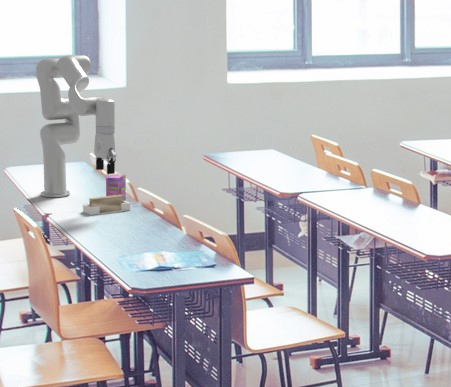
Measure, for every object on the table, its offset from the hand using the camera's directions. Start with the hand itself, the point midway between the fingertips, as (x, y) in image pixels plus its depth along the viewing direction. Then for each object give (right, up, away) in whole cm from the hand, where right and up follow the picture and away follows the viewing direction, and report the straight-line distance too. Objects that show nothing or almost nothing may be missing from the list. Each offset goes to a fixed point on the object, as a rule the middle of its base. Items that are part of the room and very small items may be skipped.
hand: (105, 171), depth 413 cm
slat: (0, -16, +3) cm, 16 cm away
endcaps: (0, -16, +3) cm, 16 cm away
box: (+2, -13, +19) cm, 23 cm away
